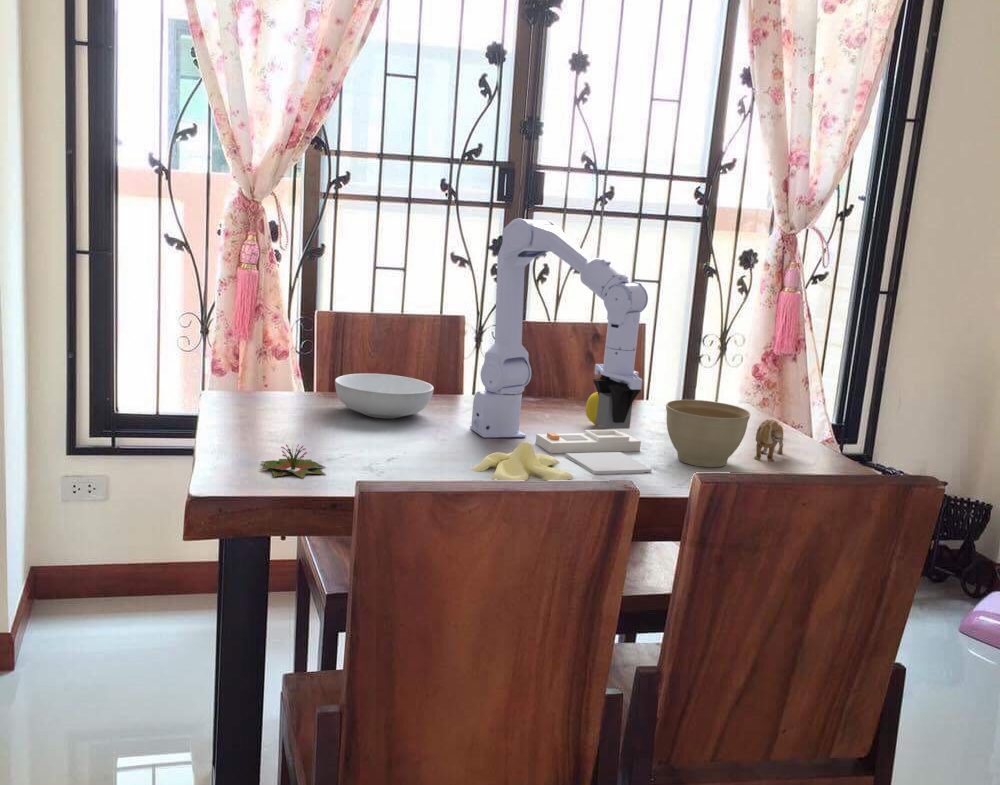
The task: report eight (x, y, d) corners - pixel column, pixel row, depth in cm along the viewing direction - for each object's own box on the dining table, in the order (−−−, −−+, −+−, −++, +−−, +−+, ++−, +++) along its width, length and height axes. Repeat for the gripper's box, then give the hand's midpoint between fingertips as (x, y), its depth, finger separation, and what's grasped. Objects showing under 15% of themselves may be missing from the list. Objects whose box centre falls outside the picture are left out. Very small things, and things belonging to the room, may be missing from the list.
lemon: (607, 430, 219) (611, 394, 217) (582, 427, 220) (586, 391, 218) (610, 424, 224) (614, 389, 223) (585, 421, 225) (589, 386, 224)
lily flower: (317, 460, 178) (318, 435, 177) (337, 480, 168) (339, 453, 167) (249, 463, 173) (250, 437, 172) (266, 483, 162) (267, 456, 161)
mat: (594, 474, 183) (594, 471, 183) (565, 456, 194) (565, 453, 194) (651, 472, 188) (651, 469, 188) (619, 454, 199) (620, 451, 199)
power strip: (550, 453, 195) (551, 439, 195) (535, 443, 202) (536, 430, 201) (639, 450, 203) (641, 437, 203) (622, 441, 210) (624, 428, 209)
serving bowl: (427, 429, 206) (429, 396, 205) (325, 420, 206) (326, 387, 205) (435, 408, 226) (437, 378, 225) (342, 399, 226) (344, 369, 225)
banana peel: (546, 457, 194) (549, 426, 193) (594, 485, 178) (597, 452, 177) (438, 461, 185) (440, 428, 184) (478, 492, 169) (481, 456, 167)
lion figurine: (778, 467, 200) (784, 423, 198) (750, 462, 202) (757, 419, 200) (783, 451, 214) (789, 410, 212) (758, 447, 215) (764, 406, 214)
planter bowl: (685, 446, 210) (691, 395, 208) (756, 464, 200) (764, 411, 198) (644, 458, 198) (651, 404, 196) (718, 478, 188) (726, 421, 186)
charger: (605, 429, 187) (609, 397, 186) (595, 423, 190) (599, 392, 189) (629, 428, 189) (633, 397, 188) (619, 423, 192) (622, 392, 191)
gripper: (659, 355, 182) (651, 428, 184) (620, 341, 195) (612, 410, 197) (625, 354, 179) (617, 429, 181) (588, 341, 192) (580, 410, 195)
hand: (612, 419), depth 189 cm, fingers closed on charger, 4 cm apart
